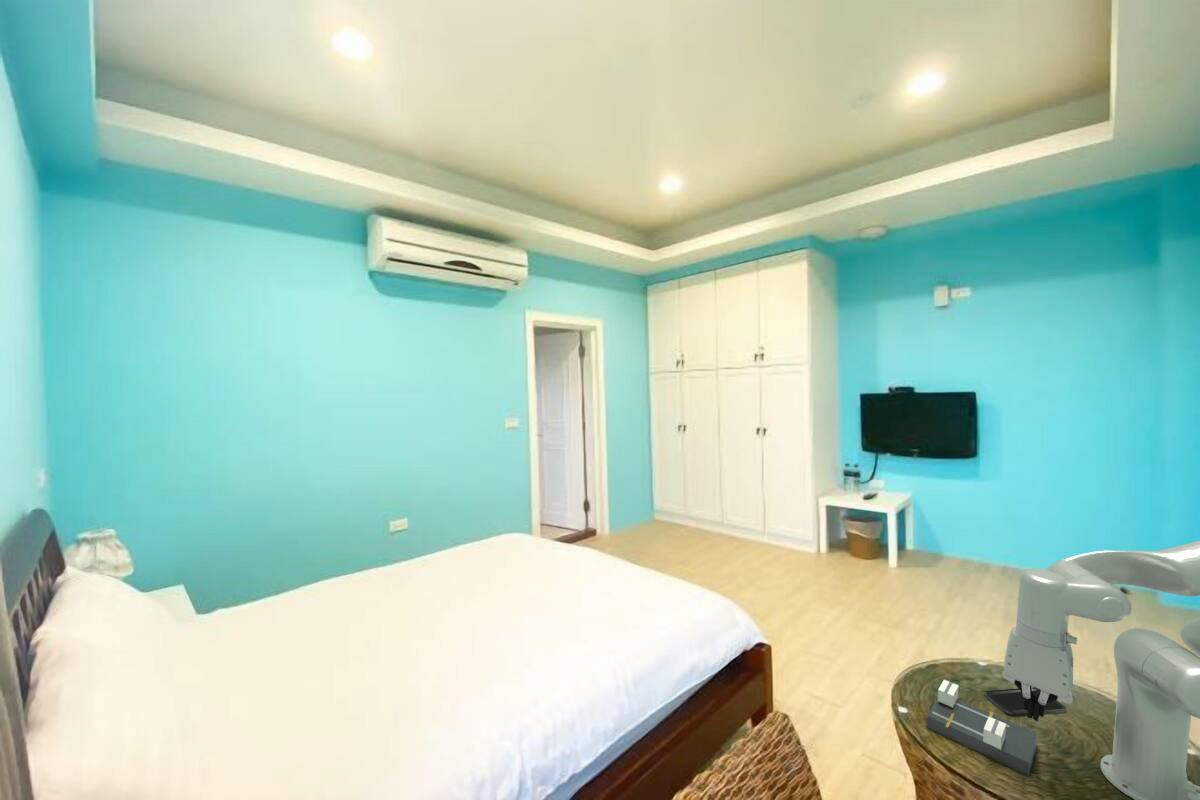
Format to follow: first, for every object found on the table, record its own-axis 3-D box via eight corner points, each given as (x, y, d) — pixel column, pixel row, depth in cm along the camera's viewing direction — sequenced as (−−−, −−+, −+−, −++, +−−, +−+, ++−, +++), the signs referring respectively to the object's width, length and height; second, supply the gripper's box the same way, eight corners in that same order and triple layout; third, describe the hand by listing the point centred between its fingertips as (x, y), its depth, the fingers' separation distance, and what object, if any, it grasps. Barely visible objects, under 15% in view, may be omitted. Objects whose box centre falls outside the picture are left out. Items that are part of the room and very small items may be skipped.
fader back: (958, 697, 118) (958, 685, 118) (952, 707, 115) (953, 695, 114) (943, 690, 120) (944, 679, 120) (937, 701, 117) (938, 689, 116)
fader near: (1005, 736, 106) (1006, 723, 105) (1000, 749, 103) (1001, 736, 102) (988, 728, 108) (988, 716, 108) (983, 741, 105) (983, 728, 104)
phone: (981, 691, 123) (1038, 686, 124) (981, 695, 123) (1037, 690, 124) (1009, 714, 115) (1069, 709, 116) (1009, 718, 115) (1069, 714, 116)
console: (1037, 743, 108) (1038, 730, 107) (1027, 778, 99) (1028, 764, 99) (941, 701, 121) (941, 690, 121) (925, 729, 113) (926, 717, 112)
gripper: (1094, 640, 94) (1086, 727, 96) (997, 610, 106) (991, 688, 108) (1092, 657, 89) (1082, 748, 92) (989, 624, 101) (983, 705, 103)
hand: (1033, 715), depth 100 cm, fingers closed
